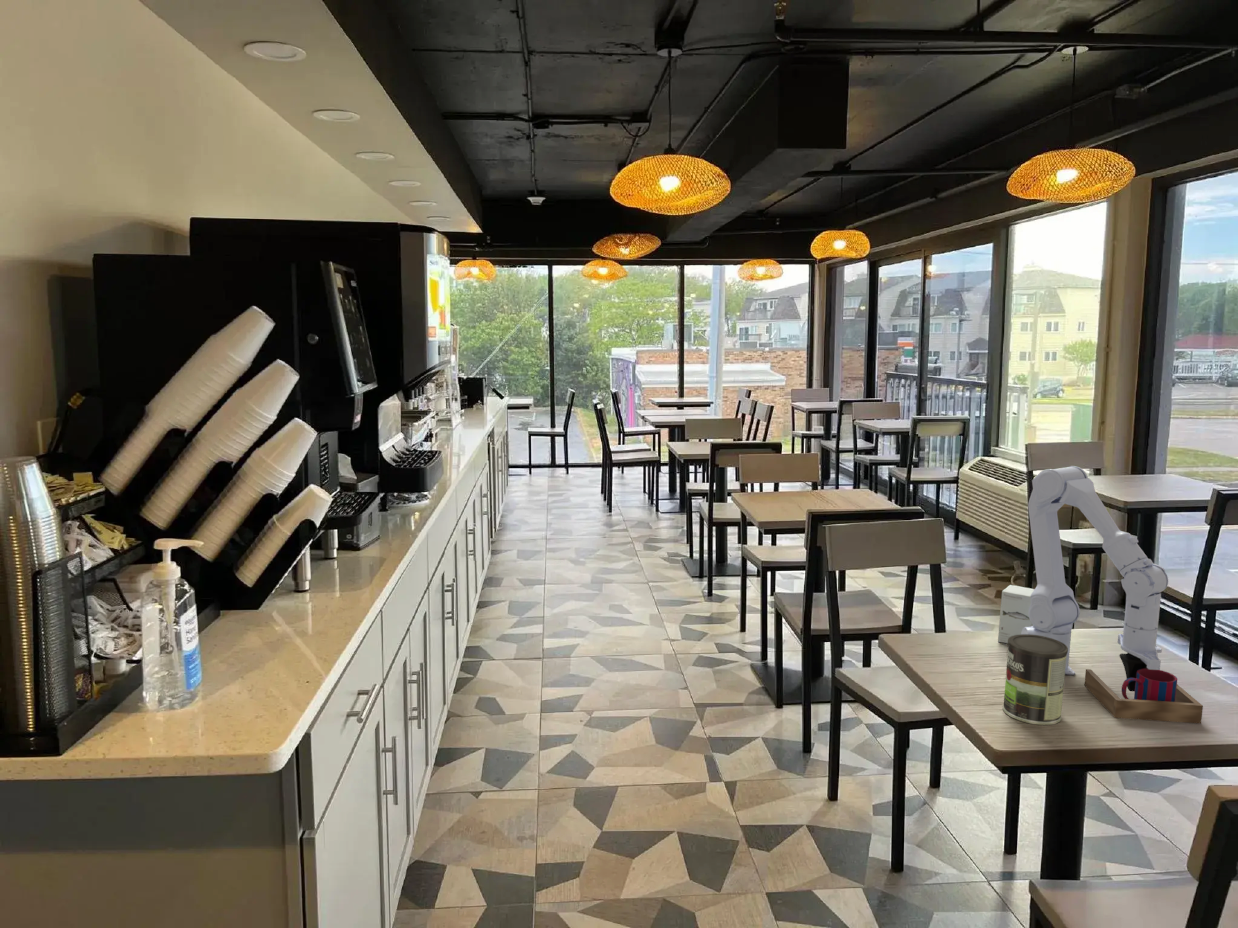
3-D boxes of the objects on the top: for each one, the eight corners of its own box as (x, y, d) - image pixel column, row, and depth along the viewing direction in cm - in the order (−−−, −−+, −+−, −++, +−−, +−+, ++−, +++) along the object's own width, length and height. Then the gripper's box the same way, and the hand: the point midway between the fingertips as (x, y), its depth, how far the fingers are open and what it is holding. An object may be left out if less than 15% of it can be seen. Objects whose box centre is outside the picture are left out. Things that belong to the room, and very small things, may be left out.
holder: (1114, 717, 164) (1116, 700, 163) (1084, 685, 179) (1085, 669, 178) (1201, 723, 161) (1203, 705, 161) (1162, 689, 176) (1164, 673, 176)
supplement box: (996, 642, 204) (1000, 590, 202) (1006, 633, 209) (1009, 583, 207) (1030, 649, 199) (1034, 596, 197) (1038, 640, 205) (1043, 589, 203)
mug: (1181, 716, 164) (1185, 682, 163) (1127, 715, 165) (1131, 681, 164) (1160, 700, 171) (1164, 668, 170) (1109, 699, 171) (1112, 667, 170)
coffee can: (1016, 725, 160) (1021, 652, 158) (994, 701, 171) (999, 633, 169) (1072, 726, 160) (1078, 653, 158) (1046, 702, 170) (1052, 634, 168)
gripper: (1180, 639, 163) (1173, 707, 165) (1146, 614, 177) (1140, 677, 179) (1140, 637, 164) (1133, 704, 166) (1109, 612, 178) (1103, 675, 180)
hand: (1134, 690), depth 173 cm, fingers closed
